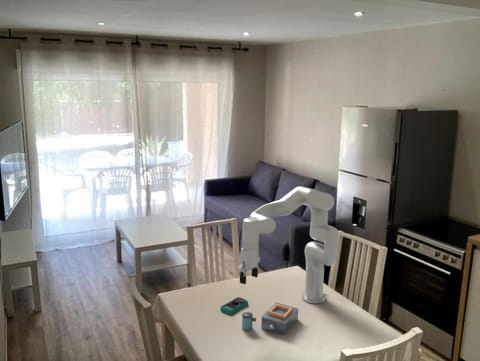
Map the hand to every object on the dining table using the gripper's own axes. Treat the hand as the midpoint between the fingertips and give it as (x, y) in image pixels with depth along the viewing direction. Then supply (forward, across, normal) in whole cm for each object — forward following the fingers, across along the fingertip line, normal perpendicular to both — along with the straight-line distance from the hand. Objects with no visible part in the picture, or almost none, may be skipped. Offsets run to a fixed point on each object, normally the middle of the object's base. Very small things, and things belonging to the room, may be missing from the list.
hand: (248, 280), depth 201 cm
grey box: (+23, -11, +12) cm, 28 cm away
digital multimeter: (+24, -11, -15) cm, 31 cm away
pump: (+24, +1, +1) cm, 24 cm away
